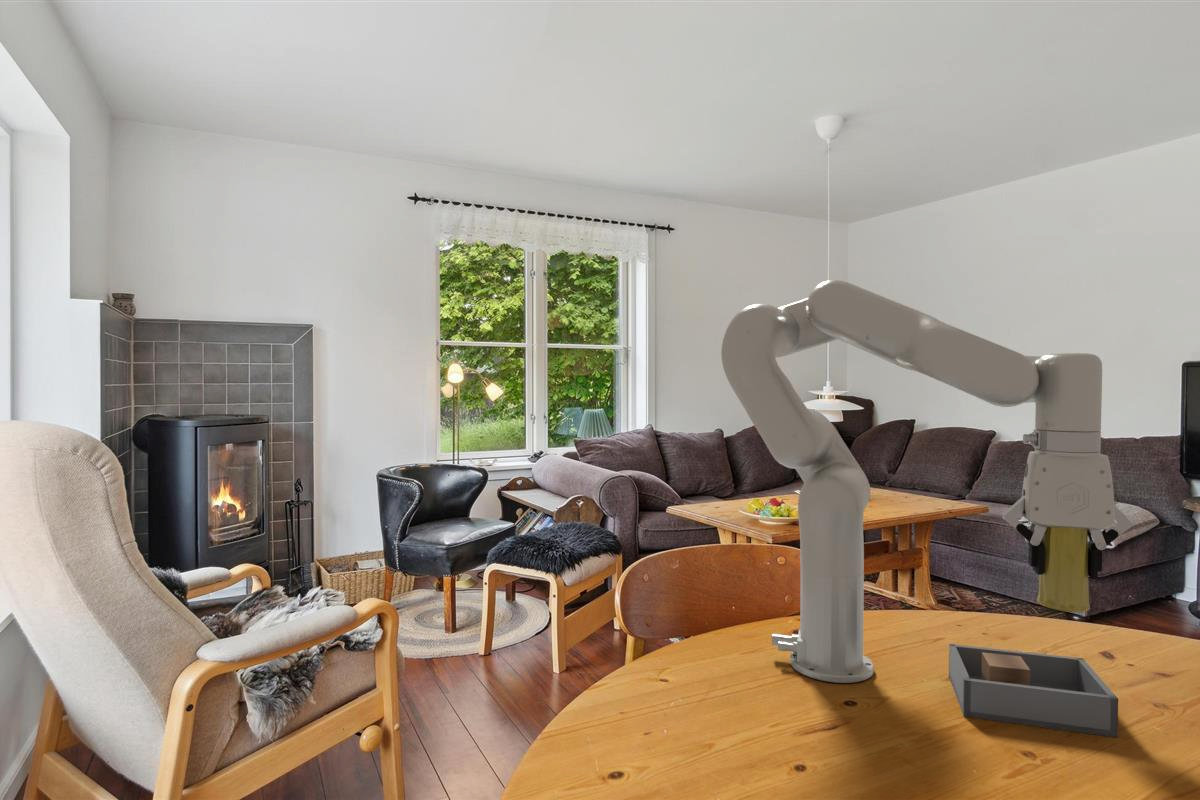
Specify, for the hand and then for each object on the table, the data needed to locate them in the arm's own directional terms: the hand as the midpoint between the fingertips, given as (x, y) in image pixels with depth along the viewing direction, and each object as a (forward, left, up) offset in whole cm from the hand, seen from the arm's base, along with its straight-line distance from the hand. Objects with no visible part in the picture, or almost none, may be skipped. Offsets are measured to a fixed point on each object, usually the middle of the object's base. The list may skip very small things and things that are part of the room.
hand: (1064, 572), depth 96 cm
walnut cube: (-7, 0, -18) cm, 19 cm away
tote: (-4, 0, -19) cm, 20 cm away
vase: (0, 0, -5) cm, 5 cm away
